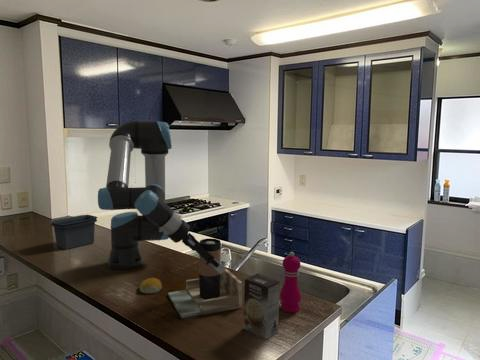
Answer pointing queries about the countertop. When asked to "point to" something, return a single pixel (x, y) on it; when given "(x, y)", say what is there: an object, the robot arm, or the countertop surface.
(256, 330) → the coffee box
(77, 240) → the storage bin
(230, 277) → the stepped plastic tray
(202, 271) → the travel mug
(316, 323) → the countertop surface
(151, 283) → the bread roll
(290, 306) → the pepper mill
